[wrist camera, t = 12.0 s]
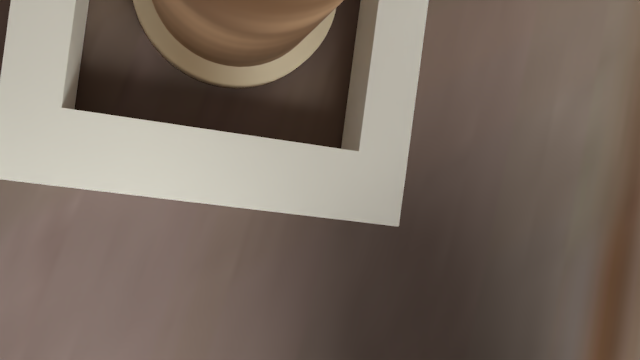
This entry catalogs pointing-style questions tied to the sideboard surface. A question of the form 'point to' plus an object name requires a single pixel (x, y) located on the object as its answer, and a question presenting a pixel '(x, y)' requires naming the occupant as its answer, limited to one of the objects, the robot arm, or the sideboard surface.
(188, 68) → the bobbin
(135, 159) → the white u-shaped piece
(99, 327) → the sideboard surface
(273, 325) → the sideboard surface
